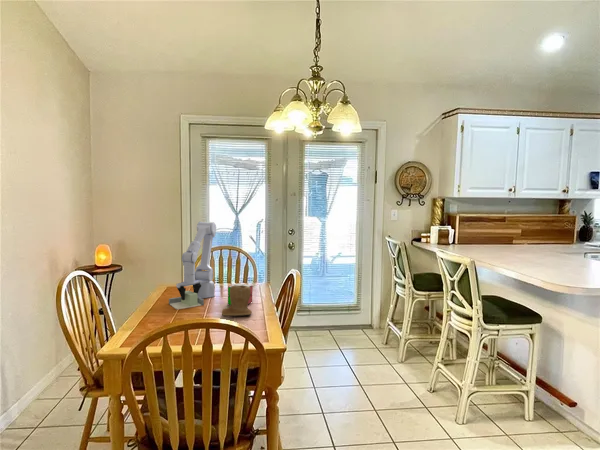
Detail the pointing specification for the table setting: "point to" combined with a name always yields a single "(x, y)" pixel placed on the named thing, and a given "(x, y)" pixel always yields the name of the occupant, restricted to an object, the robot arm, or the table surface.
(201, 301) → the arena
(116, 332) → the table surface
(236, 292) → the brown boot
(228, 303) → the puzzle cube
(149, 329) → the table surface
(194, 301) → the green block
